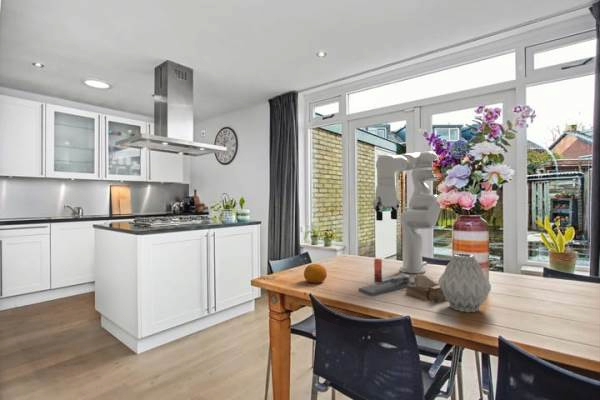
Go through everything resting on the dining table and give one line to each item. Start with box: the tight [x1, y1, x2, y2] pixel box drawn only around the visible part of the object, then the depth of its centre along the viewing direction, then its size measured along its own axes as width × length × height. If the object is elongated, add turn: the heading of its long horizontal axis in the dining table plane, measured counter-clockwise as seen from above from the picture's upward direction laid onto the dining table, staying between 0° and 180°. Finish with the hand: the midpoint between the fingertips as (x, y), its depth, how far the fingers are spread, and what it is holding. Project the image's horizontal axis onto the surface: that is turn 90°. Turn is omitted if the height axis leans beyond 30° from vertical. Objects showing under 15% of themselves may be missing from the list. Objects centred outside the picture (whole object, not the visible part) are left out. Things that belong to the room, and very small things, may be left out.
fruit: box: [303, 263, 328, 284], centre depth 145 cm, size 10×10×8 cm
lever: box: [373, 258, 411, 285], centre depth 135 cm, size 21×6×11 cm, turn 124°
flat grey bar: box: [358, 277, 415, 297], centre depth 134 cm, size 26×8×2 cm, turn 124°
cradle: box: [405, 281, 446, 303], centre depth 124 cm, size 13×12×5 cm
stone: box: [413, 273, 437, 290], centre depth 125 cm, size 10×7×10 cm
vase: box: [437, 253, 492, 313], centre depth 109 cm, size 16×16×18 cm
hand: (386, 219), depth 144 cm, fingers open, 9 cm apart
